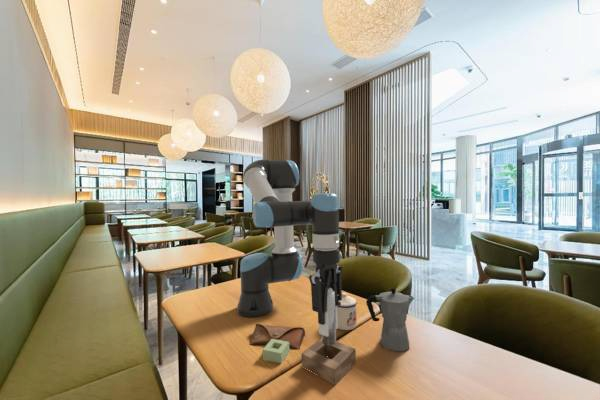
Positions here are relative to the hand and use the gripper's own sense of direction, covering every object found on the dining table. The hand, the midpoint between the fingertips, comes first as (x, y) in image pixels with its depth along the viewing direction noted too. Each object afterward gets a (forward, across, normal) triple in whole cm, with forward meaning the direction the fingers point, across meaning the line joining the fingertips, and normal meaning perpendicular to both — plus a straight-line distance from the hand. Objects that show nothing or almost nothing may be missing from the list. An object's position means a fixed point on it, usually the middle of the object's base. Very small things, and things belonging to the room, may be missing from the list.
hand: (328, 330), depth 71 cm
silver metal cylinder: (+3, 0, 0) cm, 3 cm away
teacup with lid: (+10, +24, +8) cm, 27 cm away
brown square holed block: (+10, 0, 0) cm, 10 cm away
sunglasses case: (+10, 0, +21) cm, 24 cm away
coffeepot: (+10, +21, -10) cm, 25 cm away
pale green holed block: (+10, -6, +15) cm, 19 cm away
